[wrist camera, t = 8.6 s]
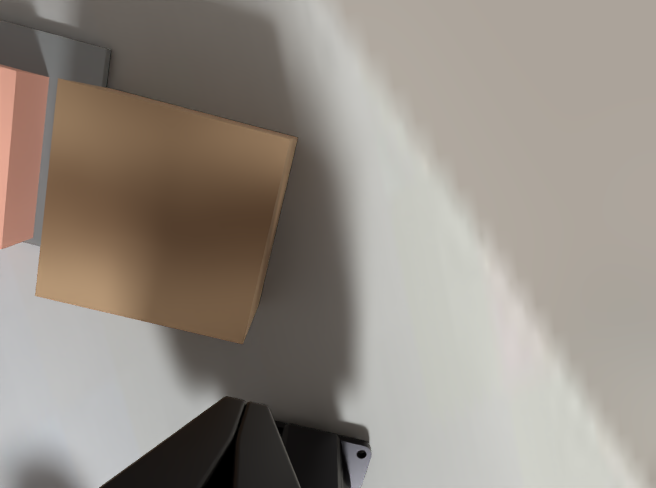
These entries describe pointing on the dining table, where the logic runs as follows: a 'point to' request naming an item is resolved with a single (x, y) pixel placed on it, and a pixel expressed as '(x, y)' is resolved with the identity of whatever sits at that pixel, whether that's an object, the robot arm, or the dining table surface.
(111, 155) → the brown square block
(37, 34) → the mat
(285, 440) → the robot arm
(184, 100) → the dining table surface
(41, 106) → the pink block
